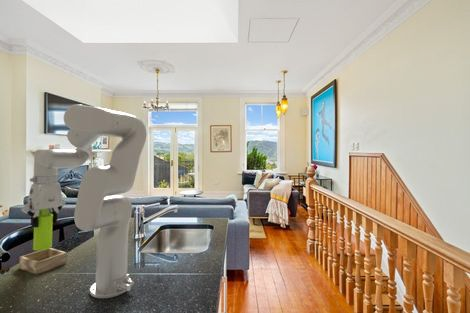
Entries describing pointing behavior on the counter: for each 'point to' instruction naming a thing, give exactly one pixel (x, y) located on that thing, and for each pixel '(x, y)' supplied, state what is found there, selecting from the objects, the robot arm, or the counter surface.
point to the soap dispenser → (43, 231)
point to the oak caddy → (42, 260)
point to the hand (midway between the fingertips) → (44, 224)
